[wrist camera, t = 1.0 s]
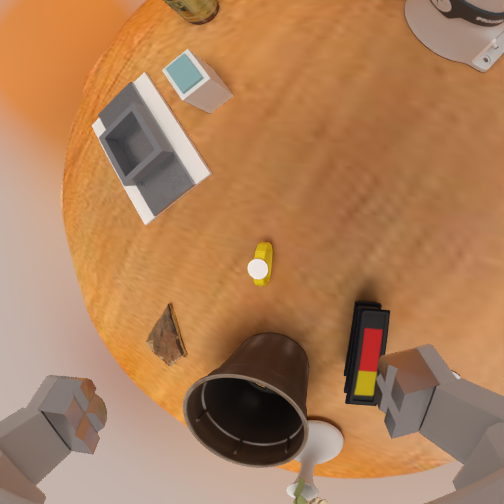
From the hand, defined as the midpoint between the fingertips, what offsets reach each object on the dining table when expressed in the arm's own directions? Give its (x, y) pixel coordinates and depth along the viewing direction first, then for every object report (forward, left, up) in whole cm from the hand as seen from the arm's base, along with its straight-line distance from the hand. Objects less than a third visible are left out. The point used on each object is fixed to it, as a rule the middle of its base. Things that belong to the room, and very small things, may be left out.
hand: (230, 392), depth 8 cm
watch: (+9, 0, -38) cm, 39 cm away
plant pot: (+18, +15, -38) cm, 45 cm away
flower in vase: (+19, +32, -38) cm, 54 cm away
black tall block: (+2, +16, -38) cm, 42 cm away
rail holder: (+16, -26, -38) cm, 49 cm away
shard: (+33, +2, -39) cm, 51 cm away
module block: (+2, -26, -38) cm, 46 cm away
